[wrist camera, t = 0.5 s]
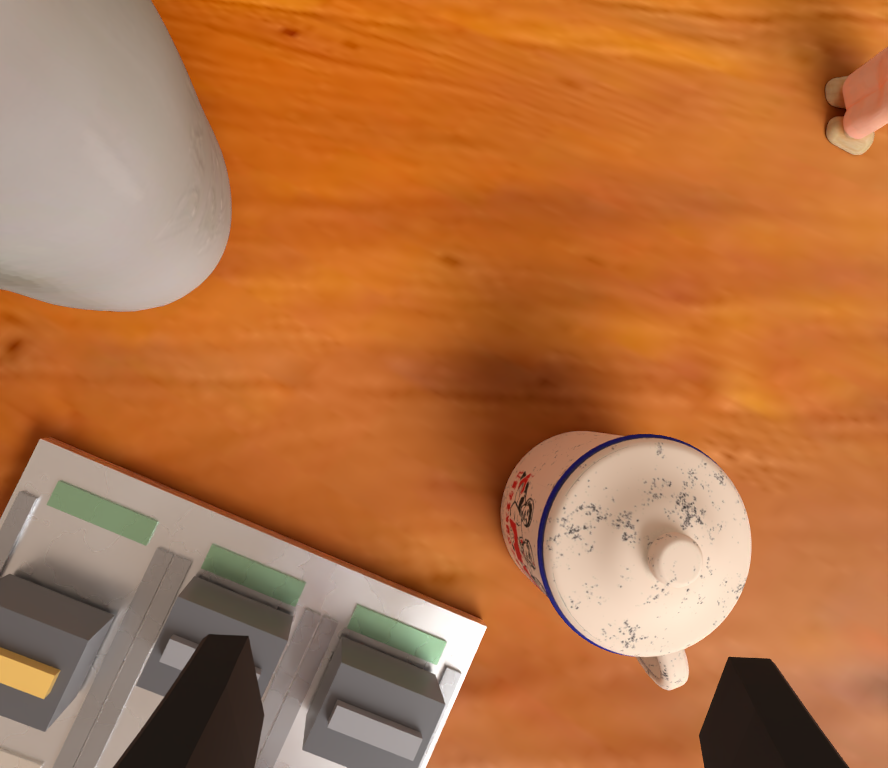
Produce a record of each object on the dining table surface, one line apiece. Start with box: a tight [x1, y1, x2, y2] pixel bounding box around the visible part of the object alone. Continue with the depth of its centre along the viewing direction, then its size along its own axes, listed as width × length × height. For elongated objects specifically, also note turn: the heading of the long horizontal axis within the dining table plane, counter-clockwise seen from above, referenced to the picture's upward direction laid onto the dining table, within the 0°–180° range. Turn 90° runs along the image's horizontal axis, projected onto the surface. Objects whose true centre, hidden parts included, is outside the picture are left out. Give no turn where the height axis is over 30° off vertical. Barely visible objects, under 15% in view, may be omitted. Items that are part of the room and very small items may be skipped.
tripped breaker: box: [0, 574, 115, 732], centre depth 31 cm, size 4×5×4 cm
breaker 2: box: [302, 636, 446, 768], centre depth 33 cm, size 4×5×4 cm
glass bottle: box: [0, 0, 232, 312], centre depth 21 cm, size 10×10×28 cm
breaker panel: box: [0, 437, 487, 768], centre depth 35 cm, size 16×23×2 cm
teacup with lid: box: [501, 431, 751, 690], centre depth 32 cm, size 12×9×12 cm
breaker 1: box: [136, 576, 293, 699], centre depth 32 cm, size 4×5×4 cm
